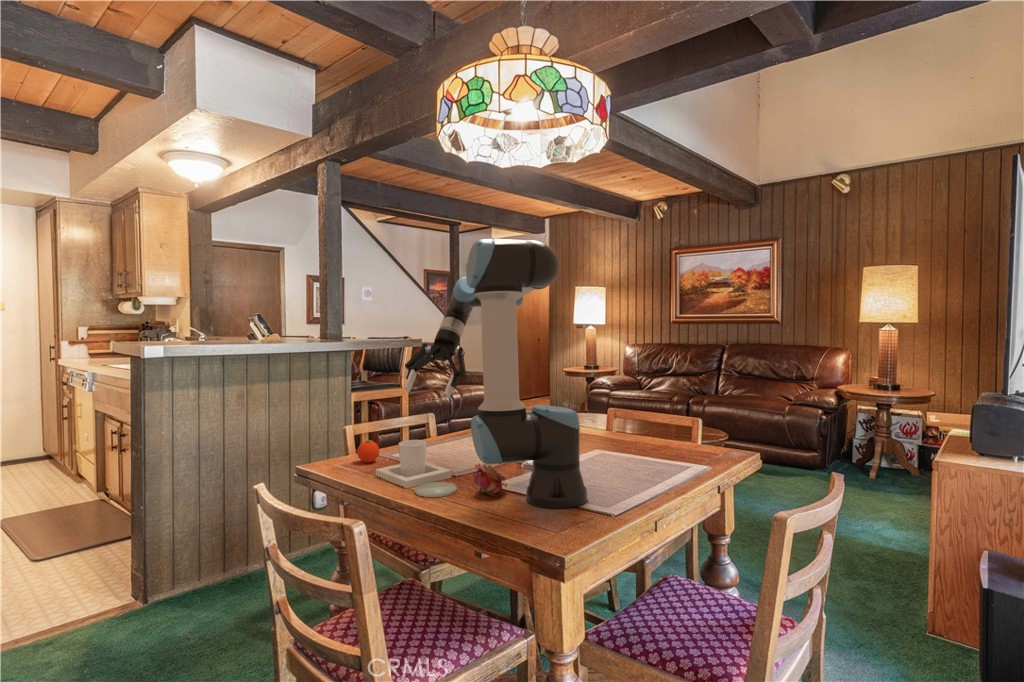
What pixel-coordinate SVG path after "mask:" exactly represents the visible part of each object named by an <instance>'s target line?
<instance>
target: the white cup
mask: <svg viewBox="0 0 1024 682" xmlns="http://www.w3.org/2000/svg"><path fill="white" fill-rule="evenodd" d="M398 452H399V453H398V455H399V464H400V468H401V474H400V475H401V476H404V477H411V476H415V475H420V474H424V473H426V472H425V466H426V465H425V463H426V462H427V441H426V440H422V439H407V440H402V441H400V442H398Z"/></svg>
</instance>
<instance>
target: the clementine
mask: <svg viewBox="0 0 1024 682" xmlns="http://www.w3.org/2000/svg"><path fill="white" fill-rule="evenodd" d="M356 452H357V453H356V455H357V457H358V459H359V460H360V461H362V462H363V463H367V464H368V463H369V464H370V463H373V462H374V461H376V460H377V459H378V457H379V455H380V447H379V446H378V444H377V443H376V442H374V441H373V440H372V439H371V440H364V441H363V442H361V443H360V444H359V446H358V447H357V451H356Z"/></svg>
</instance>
